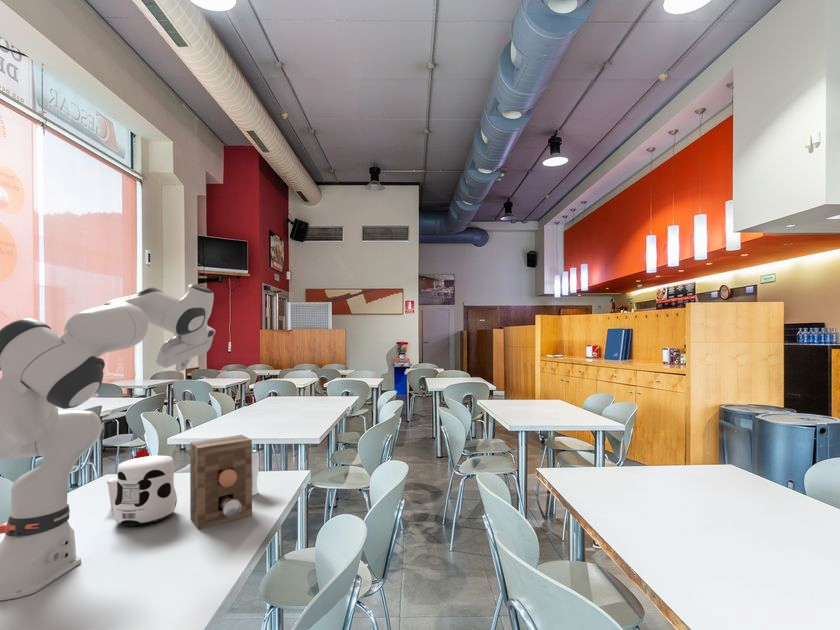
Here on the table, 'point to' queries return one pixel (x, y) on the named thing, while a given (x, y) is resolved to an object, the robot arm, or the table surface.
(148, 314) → the robot arm
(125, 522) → the milk container
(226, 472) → the terracotta plug
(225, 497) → the grey plug
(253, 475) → the white hollow cylinder
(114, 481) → the smoothie
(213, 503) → the box
